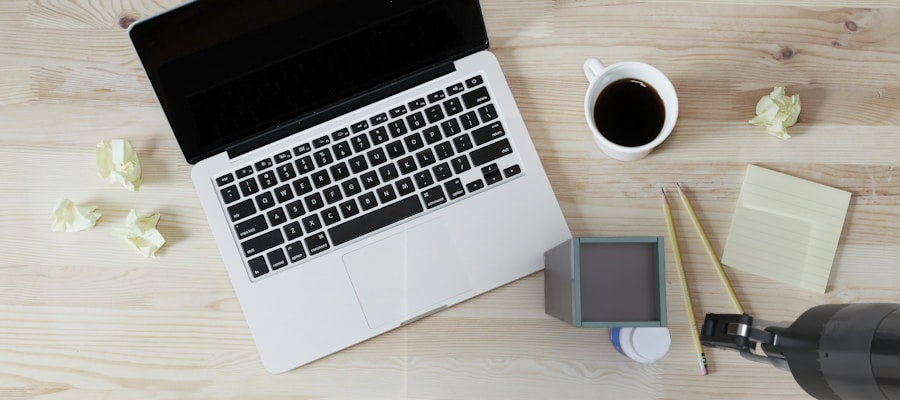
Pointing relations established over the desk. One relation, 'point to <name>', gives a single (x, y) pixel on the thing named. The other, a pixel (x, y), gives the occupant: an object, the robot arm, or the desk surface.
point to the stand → (601, 282)
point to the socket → (658, 282)
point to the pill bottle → (641, 342)
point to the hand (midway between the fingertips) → (748, 347)
